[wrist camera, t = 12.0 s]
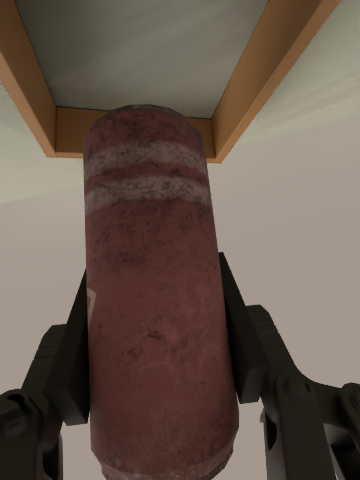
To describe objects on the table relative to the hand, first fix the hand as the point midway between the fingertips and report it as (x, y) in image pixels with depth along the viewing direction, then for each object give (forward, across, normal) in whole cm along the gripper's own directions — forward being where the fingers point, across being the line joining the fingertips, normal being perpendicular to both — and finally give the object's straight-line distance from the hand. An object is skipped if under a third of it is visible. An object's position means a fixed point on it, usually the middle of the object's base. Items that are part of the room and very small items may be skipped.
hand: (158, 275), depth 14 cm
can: (+3, 0, +7) cm, 8 cm away
